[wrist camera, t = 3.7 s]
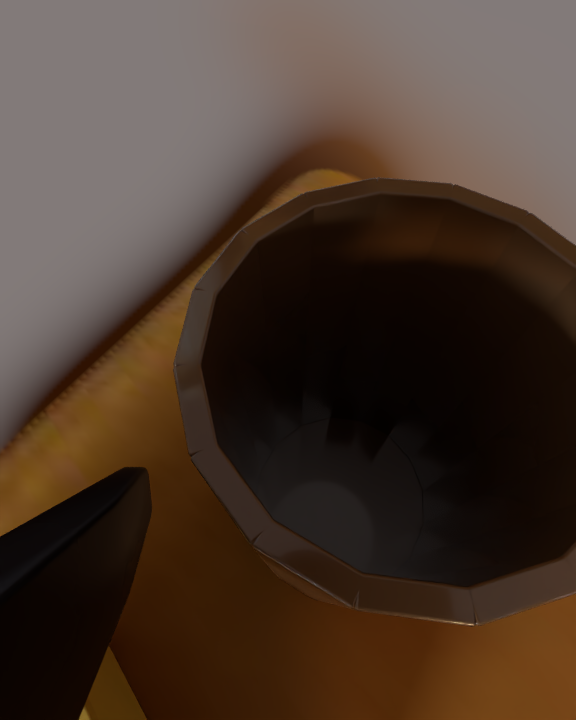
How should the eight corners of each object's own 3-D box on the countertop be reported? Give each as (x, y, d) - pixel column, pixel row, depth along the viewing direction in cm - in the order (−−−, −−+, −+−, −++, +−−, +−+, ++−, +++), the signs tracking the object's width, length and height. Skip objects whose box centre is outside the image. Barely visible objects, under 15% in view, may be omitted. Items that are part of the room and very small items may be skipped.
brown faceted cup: (468, 516, 17) (769, 384, 6) (327, 649, 15) (416, 784, 4) (346, 383, 19) (415, 126, 9) (212, 484, 18) (89, 314, 7)
